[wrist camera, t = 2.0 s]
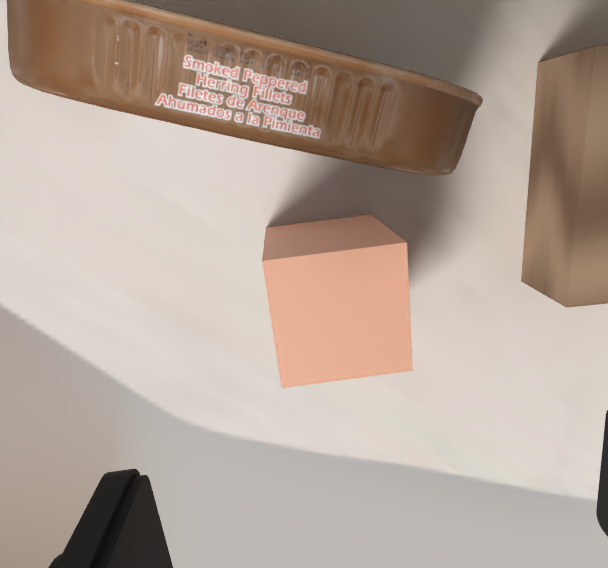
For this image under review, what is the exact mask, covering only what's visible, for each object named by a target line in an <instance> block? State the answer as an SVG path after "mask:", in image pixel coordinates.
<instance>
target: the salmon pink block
mask: <svg viewBox="0 0 608 568" xmlns="http://www.w3.org/2000/svg"><path fill="white" fill-rule="evenodd" d="M262 262H263V269H264V275H265V282H266V289H267V295H268V302H269V308H270V315H271V322H272V328H273V335H274V341H275V348H276V354H277V361H278V368H279V374H280V381H281V387H282V388H286V387H293V386H301V385H308V384H316V383H323V382H330V381H338V380H345V379H353V378H360V377H368V376H375V375H383V374H390V373H397V372H405V371H412V370H413V369H412V346H411V323H410V300H409V277H408V254H407V242H406V241H405V240H403V239H402V238H401V237H400V236H398V235H397V234H396V233H395V232H393V231H392V230H391V229H390V228H388V227H387V226H386V225H385V224H383V223H382V222H381V221H380V220H378V219H377V218H376V217H375V216H373V215H372V214H368V215H360V216H352V217H344V218H336V219H329V220H321V221H313V222H305V223H297V224H289V225H281V226H274V227H266V232H265V241H264V250H263V259H262Z"/></svg>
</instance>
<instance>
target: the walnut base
mask: <svg viewBox="0 0 608 568" xmlns="http://www.w3.org/2000/svg"><path fill="white" fill-rule="evenodd" d="M521 281H522V282H523V283H525V284H527V285H529V286H530V287H532V288H534V289H536V290H537V291H539V292H541V293H542V294H544V295H546V296H548V297H549V298H551V299H553V300H555V301H556V302H558V303H560V304H561V305H563V306H565V307H576V306H586V305H596V304H605V303H608V45H603V46H594V47H591V48H587V49H584V50H580V51H577V52H574V53H570V54H567V55H563V56H560V57H556V58H553V59H549V60H546V61H542V62H539V63H538V69H537V82H536V95H535V108H534V121H533V134H532V147H531V160H530V173H529V186H528V199H527V212H526V225H525V238H524V251H523V264H522V277H521Z"/></svg>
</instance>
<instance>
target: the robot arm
mask: <svg viewBox="0 0 608 568" xmlns="http://www.w3.org/2000/svg"><path fill="white" fill-rule="evenodd" d="M597 518H598V522H599V524H600V526H601V528H602V530H603V531H604V532H605V534H606V535H607V536H608V410H607V413H606V419H605V430H604V440H603V450H602V460H601V470H600V481H599V491H598V501H597ZM49 568H173V566H172V562H171V558H170V555H169V551H168V547H167V543H166V540H165V536H164V532H163V529H162V525H161V521H160V517H159V514H158V510H157V506H156V502H155V499H154V495H153V491H152V487H151V484H150V480H149V478H148V476H147V475H141V476H140V473H139V472H138V470H137V469H129V470H122V471H115V472H108V473H106V474H104V475H103V477H102V478H101V480H100V482H99V484H98V486H97V488H96V490H95V492H94V494H93V496H92V498H91V500H90V502H89V504H88V505H87V507H86V509H85V511H84V513H83V515H82V517H81V519H80V521H79V523H78V525H77V527H76V528H75V530H74V533H73V534H72V536H71V538H70V540H69V542H68V544H67V546H66V548H65V550H64V552H63V553H62V554H60V555H59V556H57V557H56V558H55V559H54V560H53V562H52V563H51V565H50V566H49Z"/></svg>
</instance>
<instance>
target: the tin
mask: <svg viewBox="0 0 608 568" xmlns="http://www.w3.org/2000/svg"><path fill="white" fill-rule="evenodd" d="M7 22H8V51H9V60H10V68H11V71H12V74H13V76H14V77H15V78H16V79H17V80H18V81H19V82H21V83H22V84H24V85H27V86H29V87H32V88H34V89H37V90H40V91H42V92H46V93H50V94H53V95H57V96H60V97H64V98H68V99H72V100H76V101H80V102H84V103H88V104H93V105H96V106H100V107H104V108H108V109H112V110H117V111H121V112H126V113H130V114H135V115H139V116H143V117H147V118H152V119H157V120H161V121H166V122H170V123H175V124H179V125H183V126H187V127H192V128H197V129H201V130H205V131H210V132H214V133H218V134H223V135H227V136H232V137H236V138H241V139H246V140H250V141H255V142H260V143H265V144H269V145H274V146H278V147H283V148H288V149H293V150H298V151H303V152H307V153H312V154H317V155H322V156H327V157H333V158H338V159H343V160H347V161H352V162H357V163H362V164H366V165H371V166H377V167H382V168H387V169H393V170H399V171H405V172H411V173H417V174H427V175H446V174H450V173H452V171H453V170H454V169H455V168H456V166H457V164H458V161H459V159H460V157H461V154H462V151H463V148H464V145H465V142H466V139H467V136H468V133H469V130H470V127H471V124H472V121H473V118H474V115H475V112H476V110H477V109H478V108H479V107H480V105H481V104H482V101H483V99H482V98H481V96H480V95H478V94H477V93H475V92H473V91H471V90H468V89H466V88H463V87H460V86H457V85H454V84H452V83H449V82H446V81H443V80H440V79H437V78H433V77H429V76H426V75H423V74H419V73H416V72H412V71H410V70H404V69H401V68H397V67H393V66H390V65H386V64H382V63H378V62H374V61H369V60H365V59H362V58H358V57H354V56H350V55H346V54H342V53H338V52H333V51H329V50H326V49H322V48H319V47H314V46H310V45H306V44H302V43H299V42H293V41H289V40H285V39H282V38H278V37H272V36H270V35H264V34H261V33H257V32H253V31H249V30H245V29H241V28H237V27H233V26H229V25H225V24H221V23H217V22H213V21H209V20H205V19H200V18H197V17H194V16H190V15H186V14H182V13H177V12H173V11H169V10H165V9H161V8H157V7H153V6H149V5H146V4H142V3H137V2H134V1H130V0H7Z"/></svg>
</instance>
